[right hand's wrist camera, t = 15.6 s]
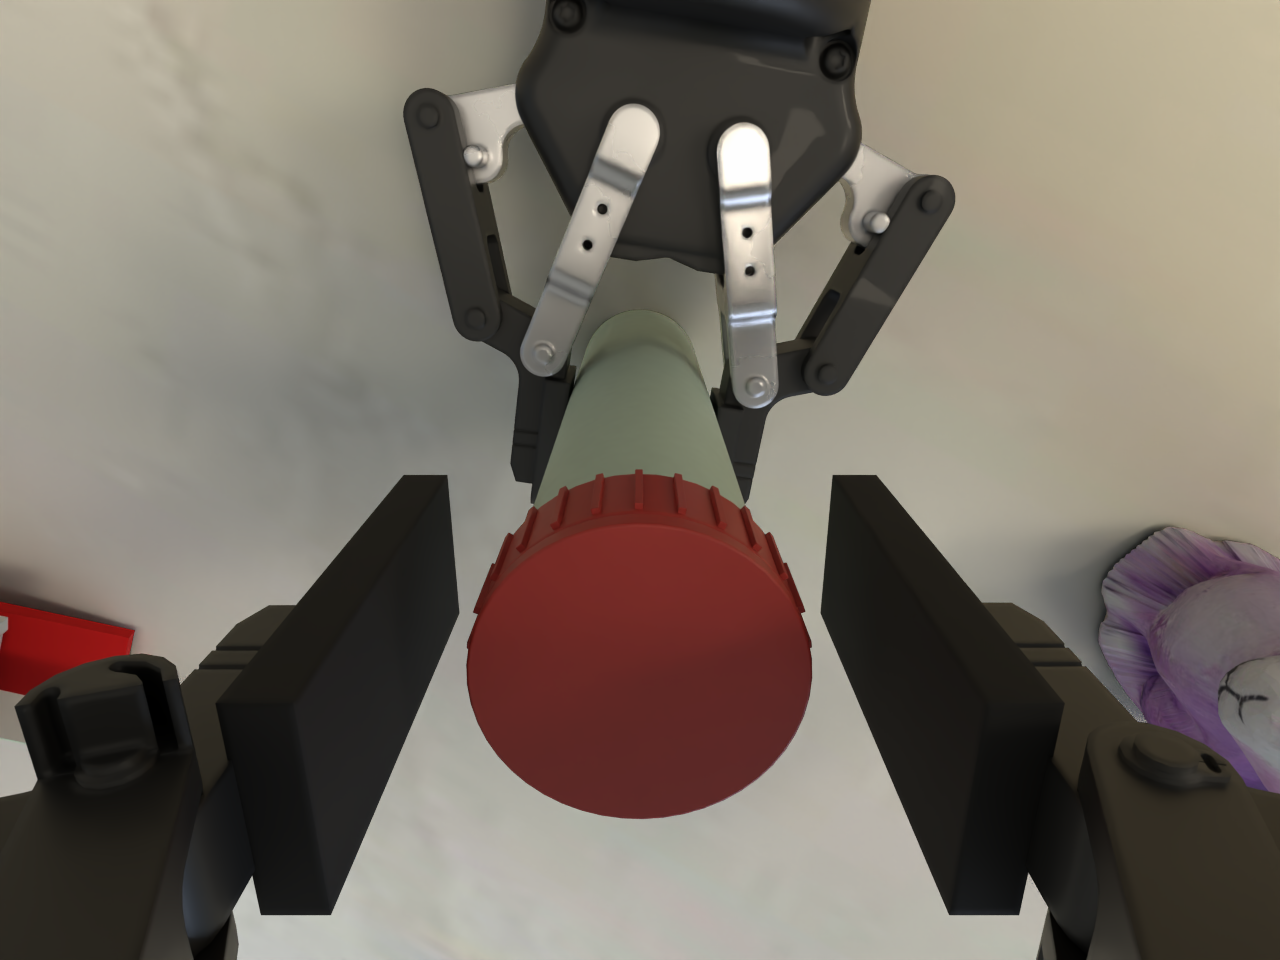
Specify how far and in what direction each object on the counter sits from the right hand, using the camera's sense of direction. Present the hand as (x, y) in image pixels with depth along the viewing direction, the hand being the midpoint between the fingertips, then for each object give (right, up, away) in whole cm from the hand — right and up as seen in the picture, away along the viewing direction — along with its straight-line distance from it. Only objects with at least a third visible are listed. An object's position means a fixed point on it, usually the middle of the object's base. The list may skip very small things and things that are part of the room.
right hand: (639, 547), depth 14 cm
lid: (0, -1, -4) cm, 4 cm away
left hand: (0, 0, +9) cm, 9 cm away
